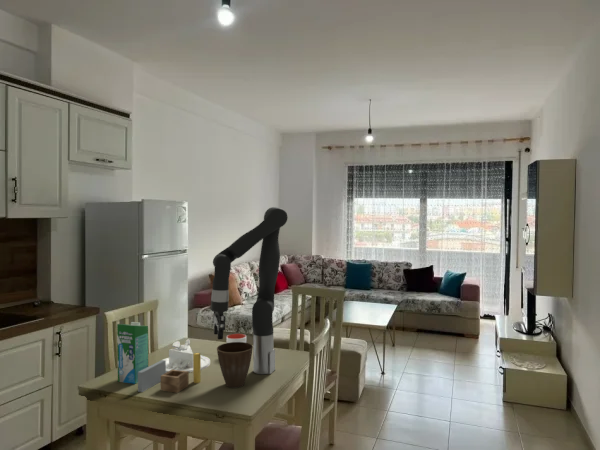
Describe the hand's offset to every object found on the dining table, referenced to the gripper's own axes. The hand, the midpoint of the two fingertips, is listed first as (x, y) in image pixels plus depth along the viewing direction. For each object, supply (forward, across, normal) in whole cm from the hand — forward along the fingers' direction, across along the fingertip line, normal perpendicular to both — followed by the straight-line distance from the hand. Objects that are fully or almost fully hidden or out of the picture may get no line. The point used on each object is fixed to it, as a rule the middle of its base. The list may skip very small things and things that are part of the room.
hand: (218, 336), depth 198 cm
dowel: (+19, -2, +9) cm, 21 cm away
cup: (+18, +28, -16) cm, 36 cm away
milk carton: (+20, +11, +34) cm, 41 cm away
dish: (+20, +24, +11) cm, 33 cm away
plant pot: (+18, -11, -6) cm, 22 cm away
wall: (+20, +2, +27) cm, 33 cm away
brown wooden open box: (+19, -6, +18) cm, 27 cm away
